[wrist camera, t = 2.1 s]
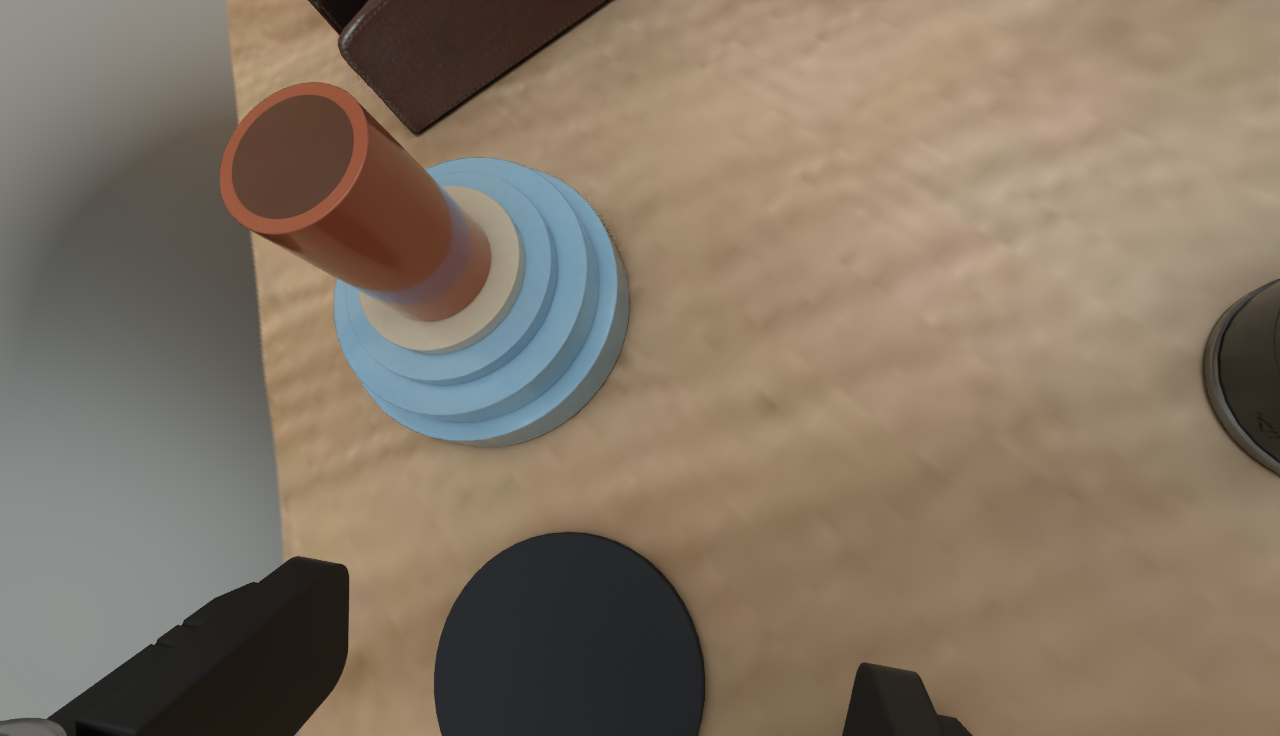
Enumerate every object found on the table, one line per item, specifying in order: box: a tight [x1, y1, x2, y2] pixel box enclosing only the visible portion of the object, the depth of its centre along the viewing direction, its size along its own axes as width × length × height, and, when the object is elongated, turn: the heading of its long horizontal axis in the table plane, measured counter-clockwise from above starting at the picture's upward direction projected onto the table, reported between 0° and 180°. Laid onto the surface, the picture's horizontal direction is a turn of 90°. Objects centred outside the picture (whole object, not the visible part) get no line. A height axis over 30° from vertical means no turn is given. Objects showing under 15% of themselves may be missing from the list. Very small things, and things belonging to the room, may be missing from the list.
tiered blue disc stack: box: [334, 157, 630, 447], centre depth 32 cm, size 15×15×7 cm
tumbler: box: [220, 82, 491, 322], centre depth 24 cm, size 5×5×9 cm
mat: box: [434, 532, 705, 736], centre depth 29 cm, size 13×13×1 cm
